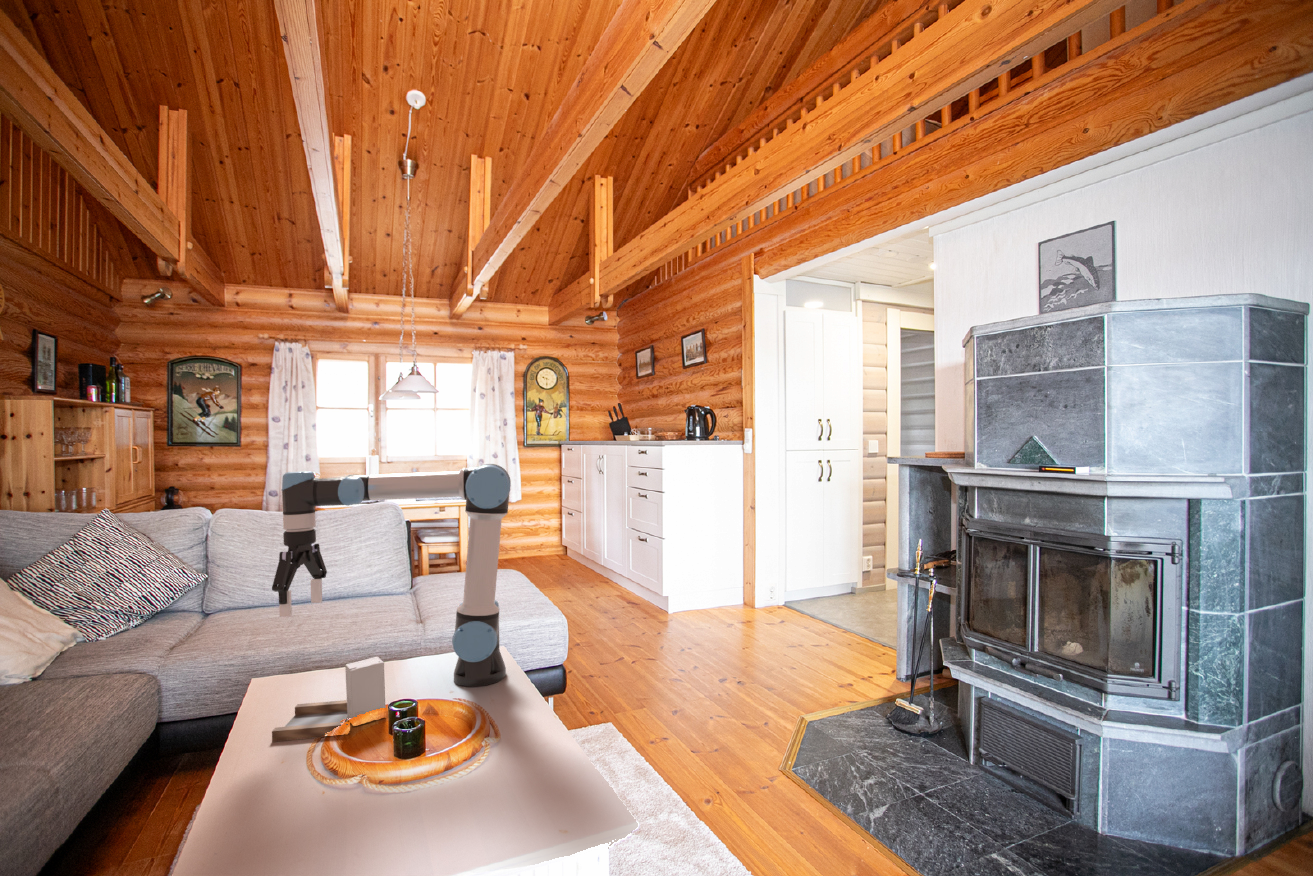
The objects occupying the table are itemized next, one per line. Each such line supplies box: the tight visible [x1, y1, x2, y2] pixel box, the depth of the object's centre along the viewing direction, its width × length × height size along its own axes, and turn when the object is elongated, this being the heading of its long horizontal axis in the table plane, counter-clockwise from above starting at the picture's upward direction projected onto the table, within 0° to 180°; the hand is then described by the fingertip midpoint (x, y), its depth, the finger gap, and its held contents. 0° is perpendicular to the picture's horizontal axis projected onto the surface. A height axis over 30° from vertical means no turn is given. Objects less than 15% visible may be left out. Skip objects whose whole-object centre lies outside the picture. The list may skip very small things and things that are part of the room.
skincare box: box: [344, 656, 387, 720], centre depth 161 cm, size 8×6×15 cm
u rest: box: [271, 699, 348, 743], centre depth 159 cm, size 17×16×2 cm
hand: (301, 609), depth 167 cm, fingers open, 13 cm apart
